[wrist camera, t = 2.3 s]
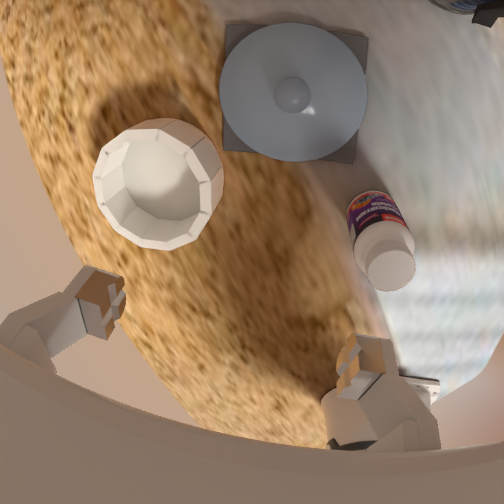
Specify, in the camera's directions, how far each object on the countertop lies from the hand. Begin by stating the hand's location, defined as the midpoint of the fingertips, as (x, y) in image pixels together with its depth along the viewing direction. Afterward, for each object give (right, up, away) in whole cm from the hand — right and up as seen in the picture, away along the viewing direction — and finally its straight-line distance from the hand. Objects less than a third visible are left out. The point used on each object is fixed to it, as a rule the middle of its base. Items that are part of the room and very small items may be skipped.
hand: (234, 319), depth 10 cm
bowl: (-8, +10, +20) cm, 24 cm away
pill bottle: (+13, +6, +20) cm, 24 cm away
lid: (+4, +16, +14) cm, 21 cm away
